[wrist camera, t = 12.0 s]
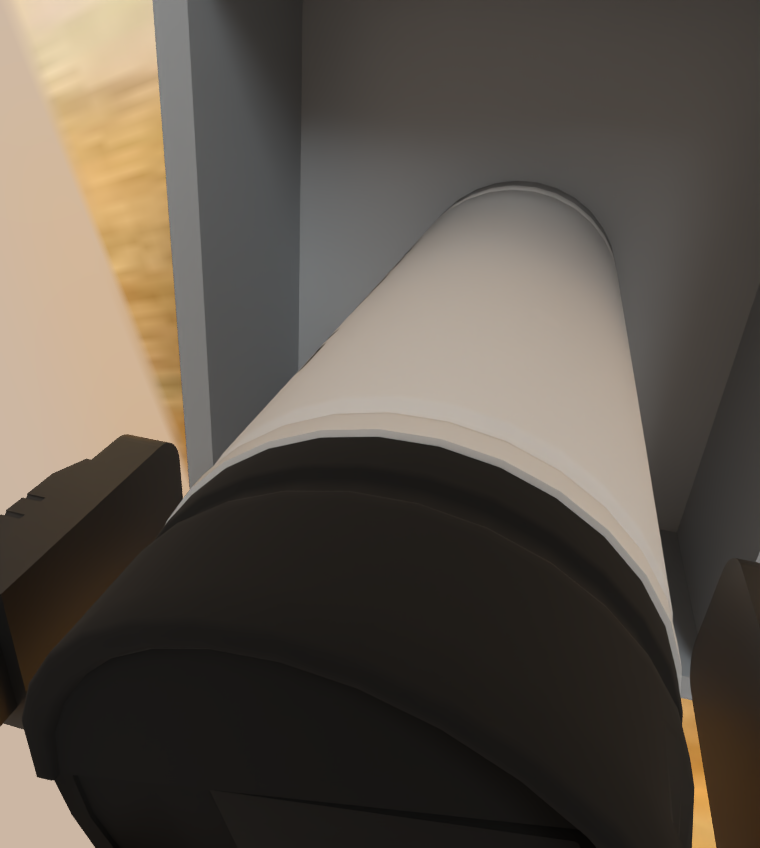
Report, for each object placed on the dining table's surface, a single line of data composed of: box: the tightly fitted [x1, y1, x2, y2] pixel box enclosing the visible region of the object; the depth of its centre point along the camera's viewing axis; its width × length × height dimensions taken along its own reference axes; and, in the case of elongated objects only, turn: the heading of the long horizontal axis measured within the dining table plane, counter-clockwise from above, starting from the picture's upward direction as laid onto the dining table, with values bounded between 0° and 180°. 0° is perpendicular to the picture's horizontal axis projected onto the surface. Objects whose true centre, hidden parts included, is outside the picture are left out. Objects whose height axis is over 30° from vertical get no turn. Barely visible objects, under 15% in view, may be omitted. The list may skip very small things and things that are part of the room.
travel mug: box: [22, 181, 694, 848], centre depth 14 cm, size 6×7×20 cm
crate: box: [153, 0, 760, 700], centre depth 20 cm, size 18×16×8 cm
